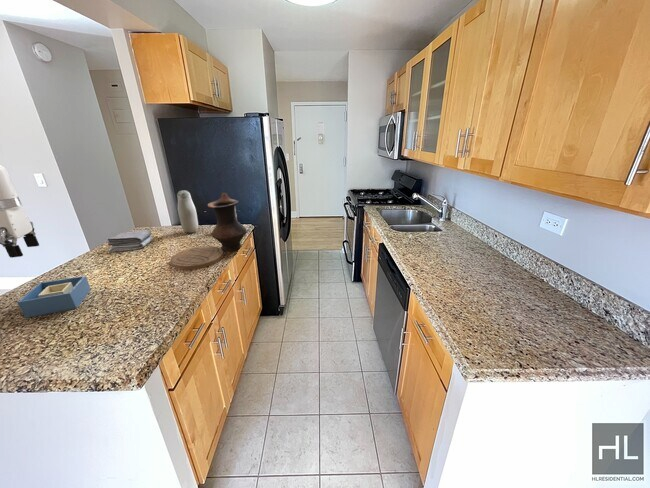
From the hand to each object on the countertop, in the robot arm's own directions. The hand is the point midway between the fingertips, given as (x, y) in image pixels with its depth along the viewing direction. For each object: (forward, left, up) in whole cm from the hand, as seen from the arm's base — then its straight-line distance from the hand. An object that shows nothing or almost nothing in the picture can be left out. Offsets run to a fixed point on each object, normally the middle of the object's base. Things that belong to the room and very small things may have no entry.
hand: (25, 251), depth 92 cm
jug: (+69, +29, -22) cm, 78 cm away
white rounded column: (+46, +68, -22) cm, 85 cm away
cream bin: (+4, -3, -21) cm, 21 cm away
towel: (+15, +55, -22) cm, 61 cm away
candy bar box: (+70, +62, -22) cm, 96 cm away
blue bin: (+4, -2, -21) cm, 22 cm away
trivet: (+52, +20, -22) cm, 60 cm away
